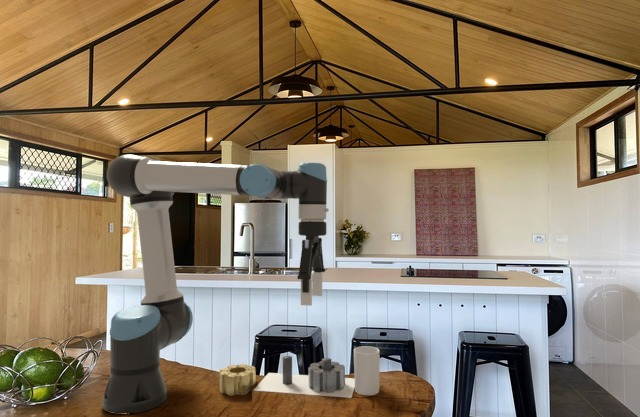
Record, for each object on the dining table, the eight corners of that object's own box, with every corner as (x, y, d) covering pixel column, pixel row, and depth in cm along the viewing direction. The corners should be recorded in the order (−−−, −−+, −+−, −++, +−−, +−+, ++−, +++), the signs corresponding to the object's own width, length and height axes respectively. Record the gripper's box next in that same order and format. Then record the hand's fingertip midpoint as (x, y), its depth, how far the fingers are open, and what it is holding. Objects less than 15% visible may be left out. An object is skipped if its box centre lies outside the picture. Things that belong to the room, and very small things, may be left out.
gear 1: (213, 394, 115) (213, 375, 115) (228, 380, 124) (228, 363, 124) (248, 396, 113) (248, 377, 113) (260, 382, 122) (260, 365, 123)
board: (253, 395, 114) (253, 363, 114) (268, 377, 126) (268, 348, 126) (351, 403, 108) (351, 369, 109) (357, 384, 121) (356, 353, 121)
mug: (378, 402, 109) (378, 354, 109) (352, 400, 110) (351, 353, 111) (382, 387, 119) (381, 343, 119) (358, 385, 120) (357, 342, 121)
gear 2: (312, 394, 111) (312, 374, 111) (306, 380, 120) (306, 362, 120) (348, 391, 112) (348, 371, 113) (339, 377, 122) (339, 359, 122)
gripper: (316, 221, 103) (316, 310, 102) (333, 220, 127) (333, 292, 127) (286, 221, 104) (285, 309, 104) (309, 220, 129) (308, 291, 128)
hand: (312, 300), depth 115 cm, fingers open, 13 cm apart
